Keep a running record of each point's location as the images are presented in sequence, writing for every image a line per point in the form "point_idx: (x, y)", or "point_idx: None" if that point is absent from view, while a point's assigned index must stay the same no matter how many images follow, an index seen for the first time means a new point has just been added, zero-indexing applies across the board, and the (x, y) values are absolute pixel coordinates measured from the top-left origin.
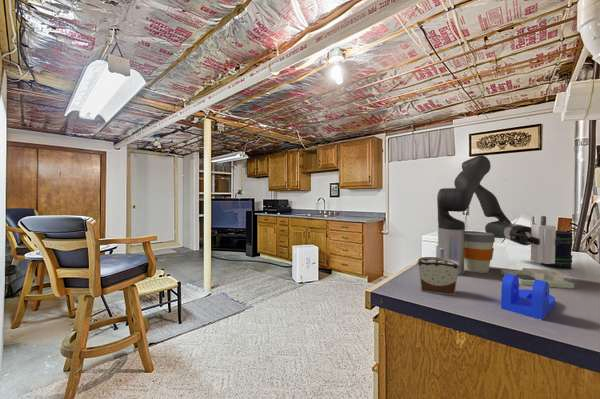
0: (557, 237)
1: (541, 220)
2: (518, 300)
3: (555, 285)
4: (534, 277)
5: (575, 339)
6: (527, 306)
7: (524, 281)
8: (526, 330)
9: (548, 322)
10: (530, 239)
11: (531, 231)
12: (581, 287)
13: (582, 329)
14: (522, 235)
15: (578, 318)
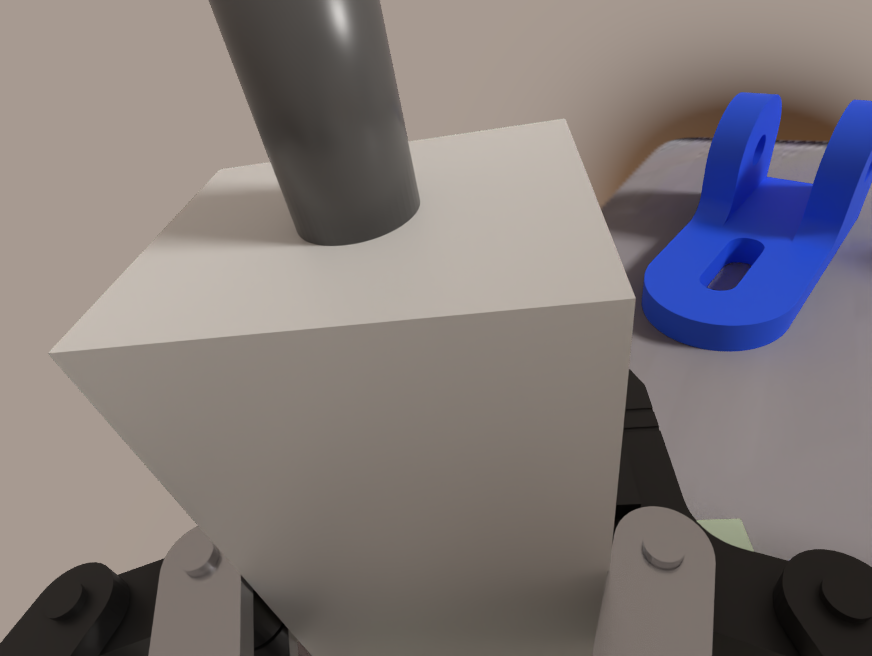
0: (72, 577)
1: (382, 21)
2: (801, 214)
3: None
4: None
5: (683, 154)
6: (774, 188)
7: (711, 522)
8: (786, 149)
9: None
10: (666, 463)
11: (614, 488)
12: None
13: (642, 188)
14: (853, 587)
15: (616, 231)
